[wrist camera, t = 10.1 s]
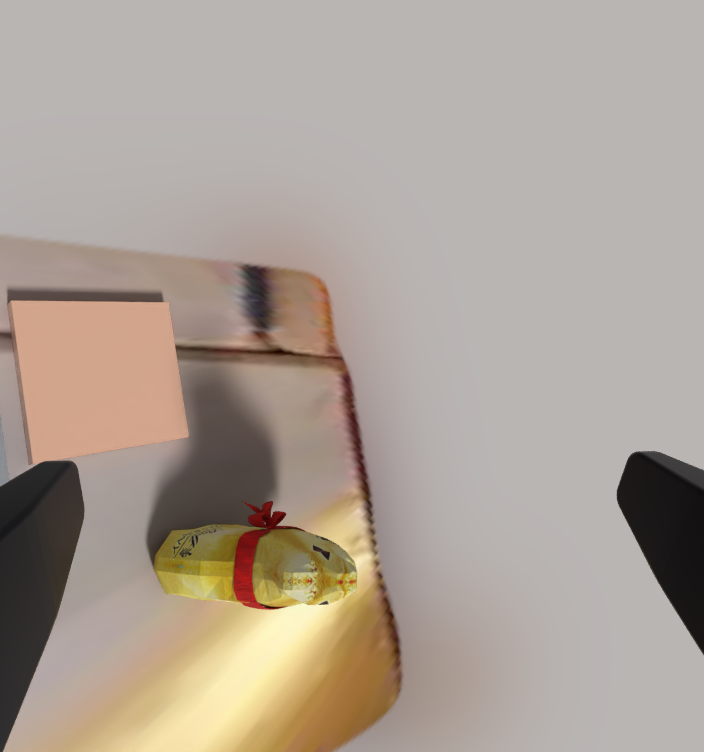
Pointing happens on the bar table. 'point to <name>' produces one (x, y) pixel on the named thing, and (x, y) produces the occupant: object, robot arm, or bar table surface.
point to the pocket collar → (3, 460)
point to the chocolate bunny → (255, 564)
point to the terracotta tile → (95, 376)
